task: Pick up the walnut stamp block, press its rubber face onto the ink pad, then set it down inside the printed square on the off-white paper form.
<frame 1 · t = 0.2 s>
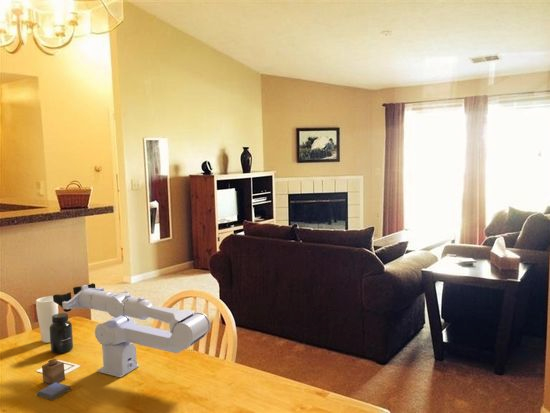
hand: (64, 294, 145), 21 cm above the table, tool horizontal, fingers open, 7 cm apart
supplement bottle: (62, 350, 154), on the table
form sheet: (58, 368, 141), on the table
drinking glass: (50, 340, 163), on the table
ink pad: (54, 392, 127), on the table
stamp: (54, 381, 133), on the table
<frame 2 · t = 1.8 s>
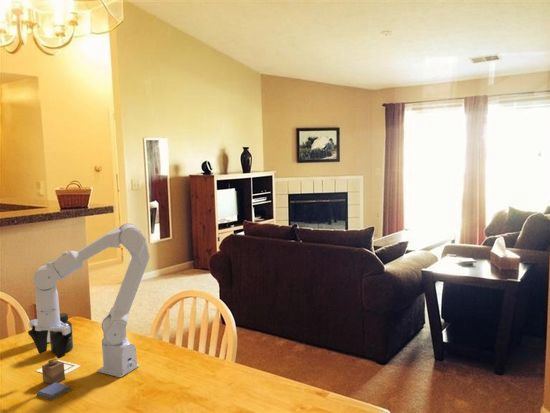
hand: (51, 354, 132), 8 cm above the table, tool pointing down, fingers open, 7 cm apart
nothing on the table moved.
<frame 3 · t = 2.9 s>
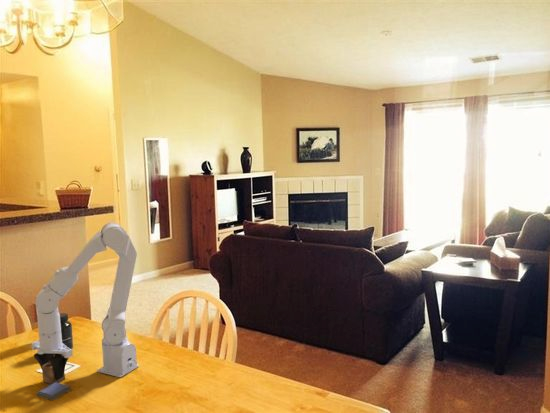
hand: (53, 376, 133), 1 cm above the table, tool pointing down, fingers closed on stamp, 4 cm apart
stamp: (54, 381, 133), on the table, touching gripper
everything else where it was.
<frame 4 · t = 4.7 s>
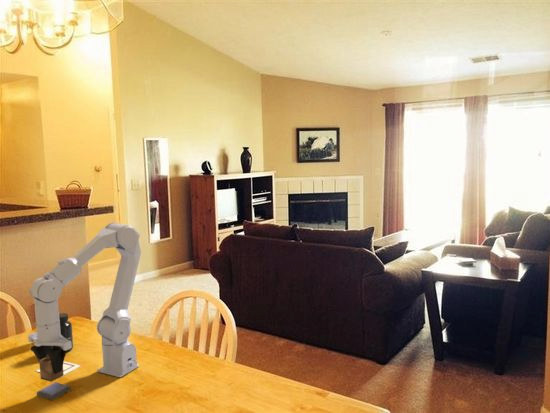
hand: (52, 370, 126), 6 cm above the table, tool pointing down, fingers closed on stamp, 4 cm apart
stamp: (52, 377, 126), point 5 cm above the table, touching gripper
everything else where it was.
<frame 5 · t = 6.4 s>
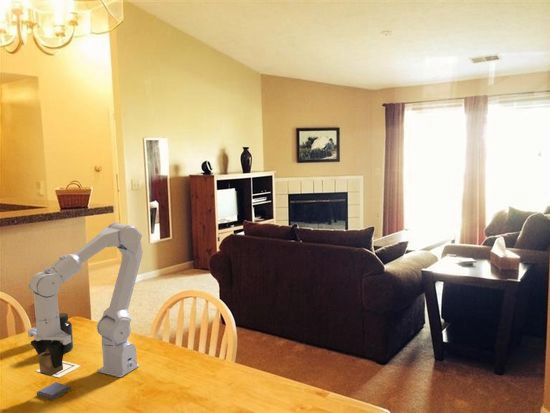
hand: (51, 364, 126), 8 cm above the table, tool pointing down, fingers closed on stamp, 4 cm apart
stamp: (51, 371, 126), point 6 cm above the table, touching gripper
everything else where it was.
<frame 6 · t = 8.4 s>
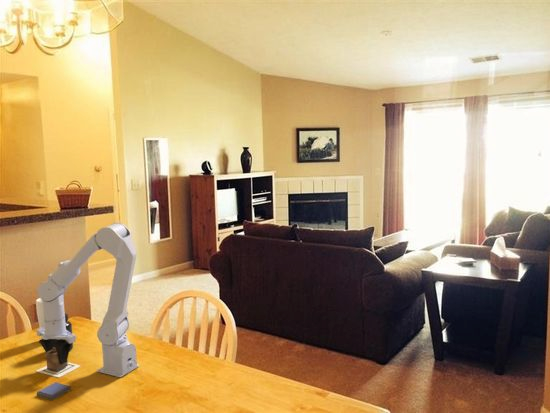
hand: (58, 361, 141), 2 cm above the table, tool pointing down, fingers closed on stamp, 4 cm apart
stamp: (57, 367, 141), point 1 cm above the table, touching gripper
everything else where it was.
when the fingers open (2 cm above the table, at t = 9.9 s): stamp stays where it is, resting on form sheet.
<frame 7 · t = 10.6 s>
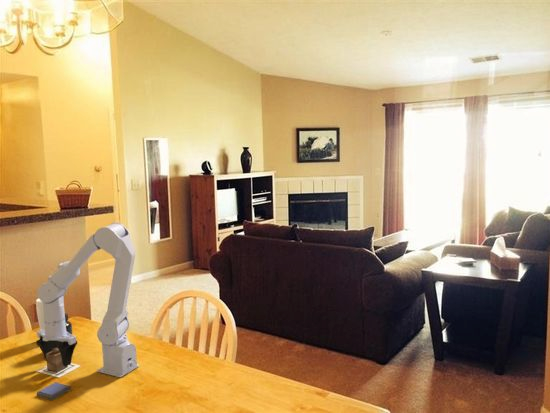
hand: (58, 362, 141), 2 cm above the table, tool pointing down, fingers open, 7 cm apart
stamp: (57, 368, 141), resting on form sheet
everything else where it was.
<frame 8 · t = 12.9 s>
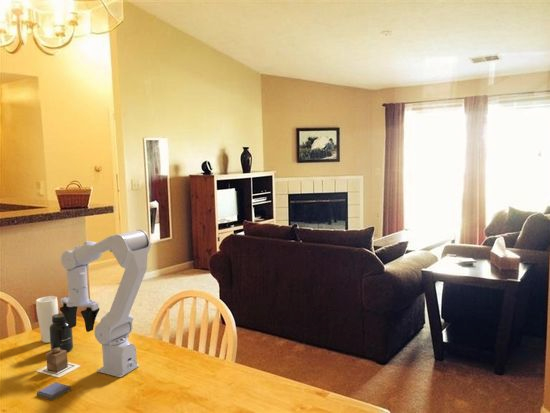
hand: (81, 328, 146), 10 cm above the table, tool pointing down, fingers open, 7 cm apart
nothing on the table moved.
at the end: stamp 0.4 cm off-centre on the form sheet, point 0.2 cm above the form sheet's base; stamp tilted 0°; the gripper is holding nothing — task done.
